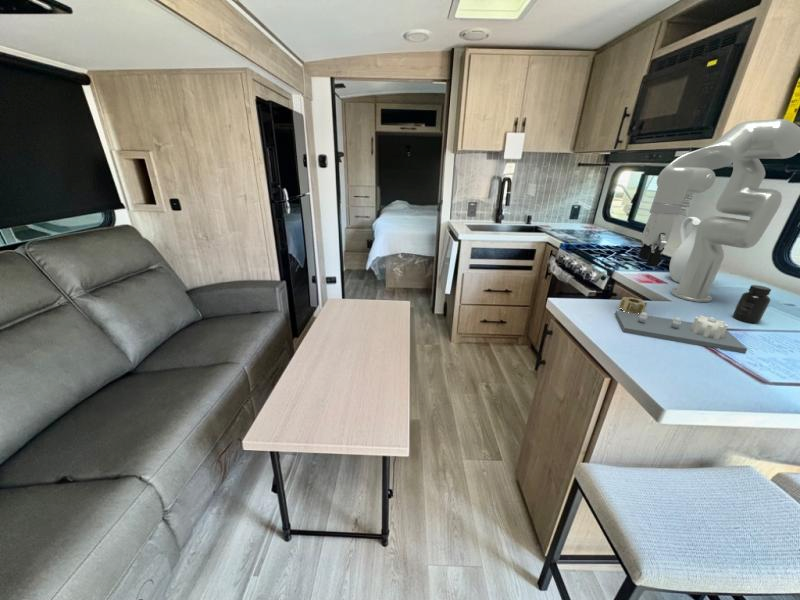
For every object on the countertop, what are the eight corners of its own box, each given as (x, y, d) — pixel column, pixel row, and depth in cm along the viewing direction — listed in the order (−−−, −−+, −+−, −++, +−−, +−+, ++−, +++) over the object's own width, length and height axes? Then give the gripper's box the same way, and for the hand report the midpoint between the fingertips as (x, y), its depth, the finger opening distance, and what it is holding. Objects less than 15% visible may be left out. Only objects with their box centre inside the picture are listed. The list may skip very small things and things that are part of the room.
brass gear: (616, 305, 122) (619, 295, 121) (640, 308, 120) (643, 298, 118) (620, 313, 116) (624, 302, 114) (645, 317, 113) (649, 306, 112)
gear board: (614, 314, 115) (619, 298, 112) (722, 331, 105) (730, 314, 102) (623, 332, 103) (628, 314, 100) (745, 353, 93) (754, 334, 90)
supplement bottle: (764, 325, 110) (782, 292, 105) (741, 322, 111) (757, 290, 106) (749, 316, 116) (764, 284, 111) (726, 314, 117) (741, 282, 112)
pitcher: (721, 290, 140) (750, 224, 129) (677, 287, 142) (702, 222, 131) (686, 272, 161) (709, 215, 150) (649, 270, 164) (668, 213, 153)
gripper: (644, 205, 112) (628, 254, 119) (659, 211, 98) (641, 266, 104) (670, 207, 110) (653, 256, 117) (690, 213, 95) (669, 270, 102)
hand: (647, 261), depth 110 cm, fingers open, 9 cm apart
